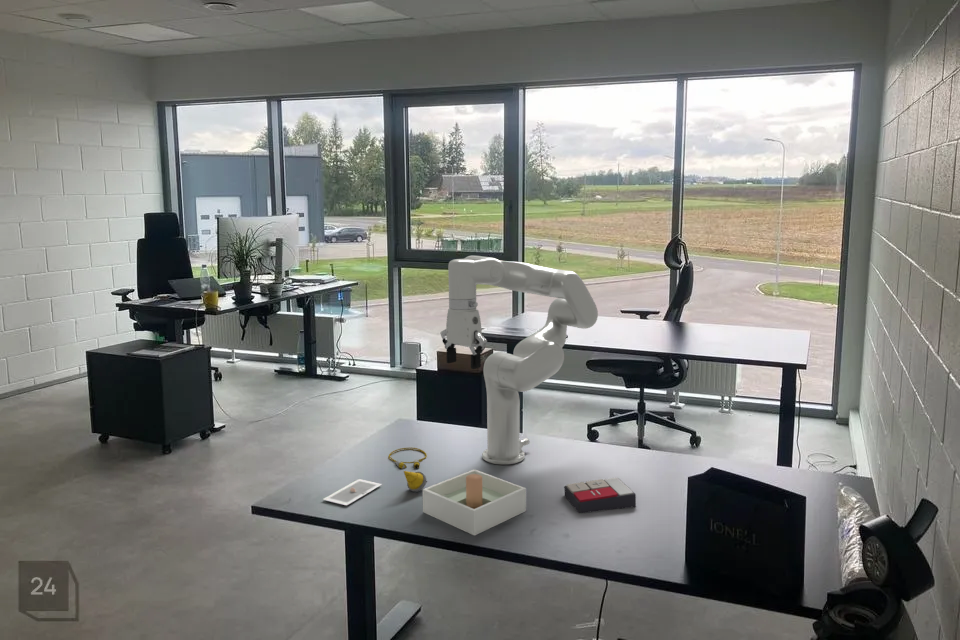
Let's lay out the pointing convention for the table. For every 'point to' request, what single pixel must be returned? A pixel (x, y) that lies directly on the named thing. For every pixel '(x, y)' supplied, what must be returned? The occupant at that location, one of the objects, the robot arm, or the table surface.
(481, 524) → the holed box
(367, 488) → the white grey flat rectangle
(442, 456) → the table surface
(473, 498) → the peg
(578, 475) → the table surface
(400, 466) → the extension cord
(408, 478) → the yellow tapered spiral part
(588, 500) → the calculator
